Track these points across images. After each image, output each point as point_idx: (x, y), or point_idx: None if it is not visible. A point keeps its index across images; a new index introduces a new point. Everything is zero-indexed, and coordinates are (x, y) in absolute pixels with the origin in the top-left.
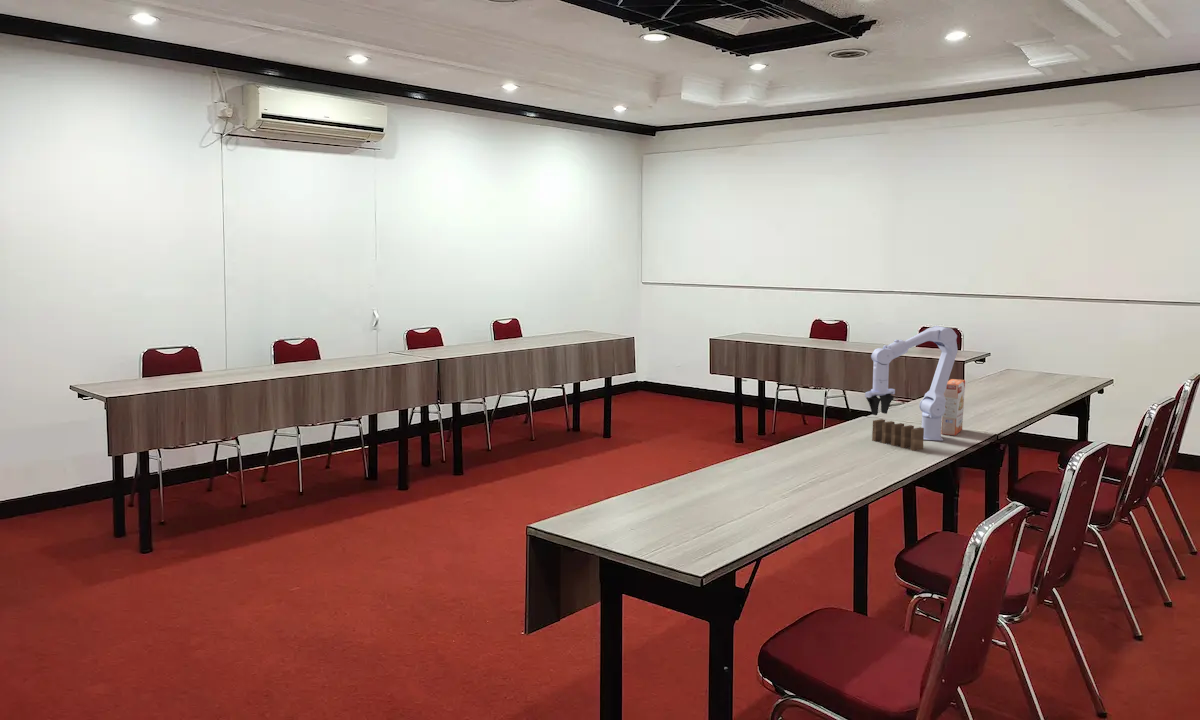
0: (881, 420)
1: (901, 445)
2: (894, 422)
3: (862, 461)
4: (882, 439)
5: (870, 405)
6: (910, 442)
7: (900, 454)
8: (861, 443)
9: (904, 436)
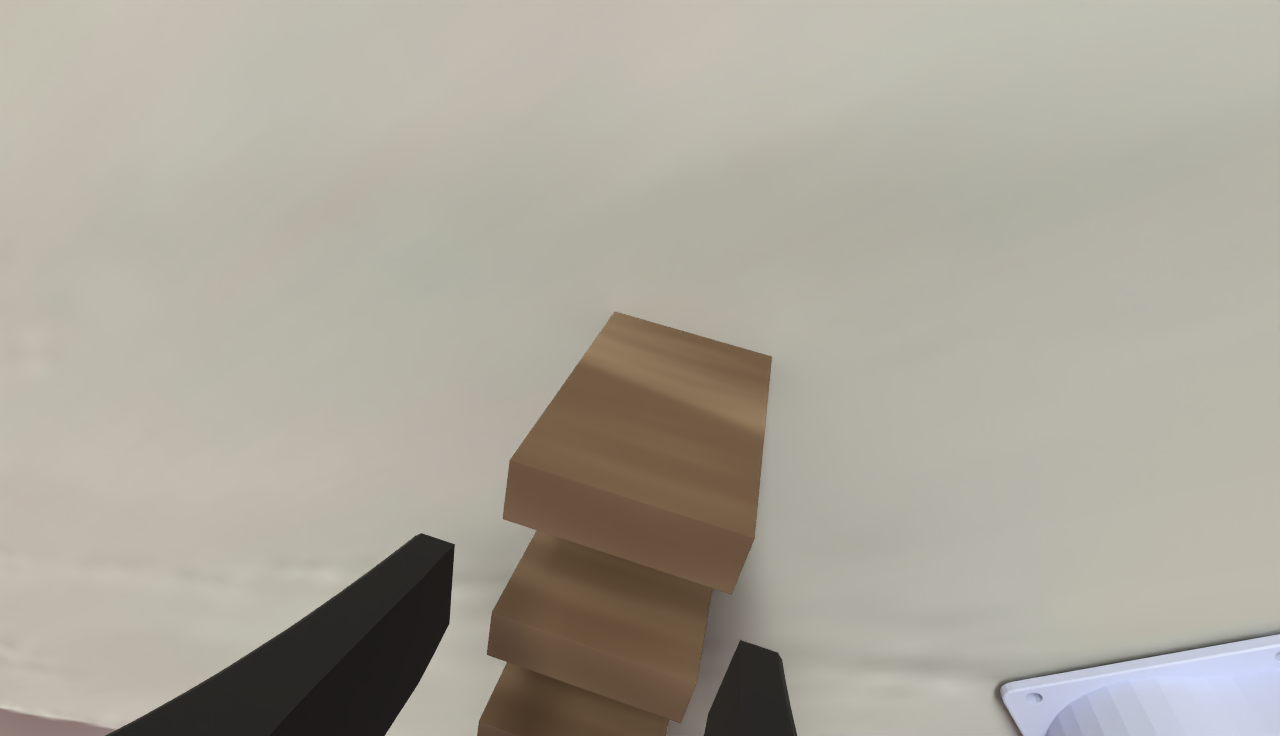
0: (636, 562)
1: None
2: (678, 713)
3: (38, 516)
4: None
5: (193, 709)
6: None
7: None
8: (408, 281)
9: None
